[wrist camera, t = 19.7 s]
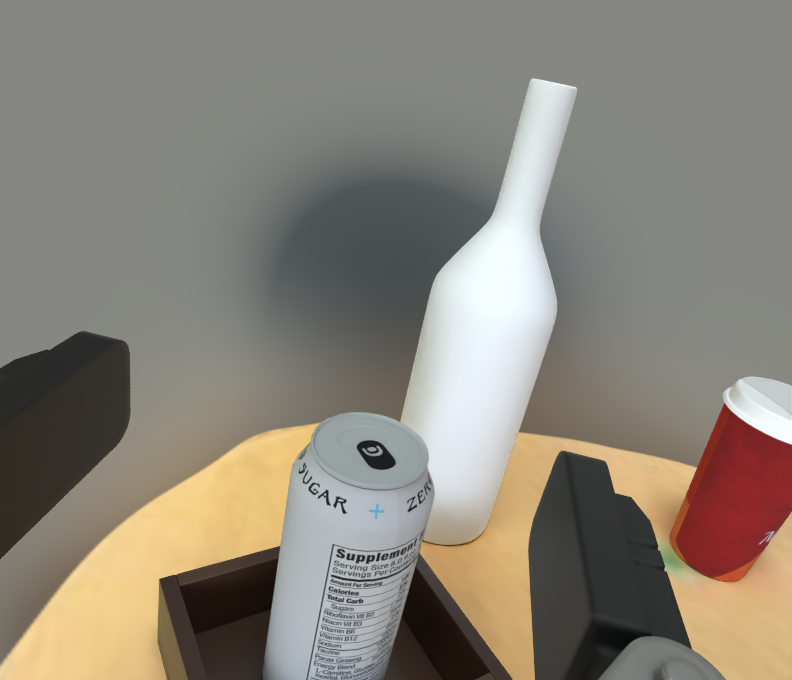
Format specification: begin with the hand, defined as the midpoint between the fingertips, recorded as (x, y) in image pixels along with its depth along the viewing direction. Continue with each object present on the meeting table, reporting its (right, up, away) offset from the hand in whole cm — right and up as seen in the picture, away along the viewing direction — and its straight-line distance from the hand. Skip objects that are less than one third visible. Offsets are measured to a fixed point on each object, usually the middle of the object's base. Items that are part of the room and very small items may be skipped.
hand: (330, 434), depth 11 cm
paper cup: (+25, -15, +36) cm, 46 cm away
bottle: (+4, -11, +34) cm, 36 cm away
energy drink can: (-3, -16, +20) cm, 26 cm away
